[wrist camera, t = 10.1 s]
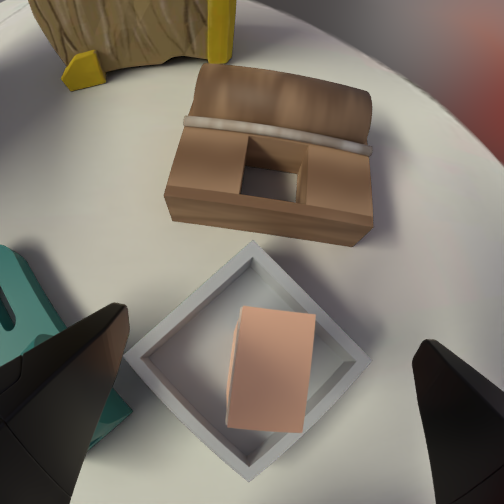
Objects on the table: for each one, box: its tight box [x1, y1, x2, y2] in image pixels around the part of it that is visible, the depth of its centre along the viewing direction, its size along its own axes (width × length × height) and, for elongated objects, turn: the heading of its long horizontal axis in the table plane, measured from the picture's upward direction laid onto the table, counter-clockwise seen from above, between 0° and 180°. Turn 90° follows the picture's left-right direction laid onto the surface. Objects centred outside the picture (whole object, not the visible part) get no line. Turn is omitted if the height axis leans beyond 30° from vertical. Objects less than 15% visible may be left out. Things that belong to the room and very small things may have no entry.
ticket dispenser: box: [164, 63, 373, 247], centre depth 22 cm, size 12×14×7 cm
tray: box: [123, 240, 372, 482], centre depth 19 cm, size 11×11×3 cm
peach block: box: [226, 306, 316, 433], centre depth 15 cm, size 4×2×11 cm, turn 173°
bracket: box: [0, 245, 133, 451], centre depth 16 cm, size 18×7×8 cm, turn 45°
